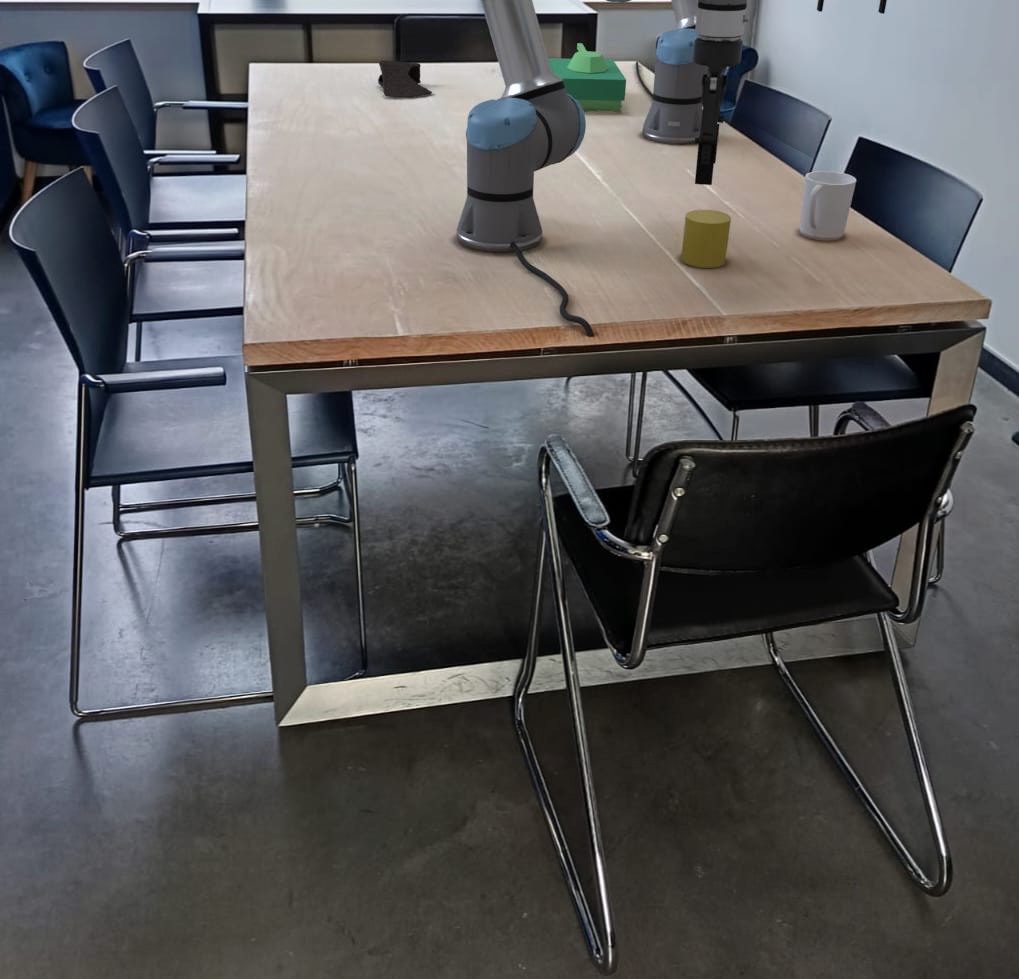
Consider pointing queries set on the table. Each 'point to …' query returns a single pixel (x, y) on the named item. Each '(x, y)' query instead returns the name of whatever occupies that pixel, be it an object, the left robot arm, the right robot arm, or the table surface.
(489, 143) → the left robot arm
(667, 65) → the right robot arm
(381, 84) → the axe head
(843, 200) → the mug
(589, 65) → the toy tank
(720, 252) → the canister
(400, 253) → the table surface
